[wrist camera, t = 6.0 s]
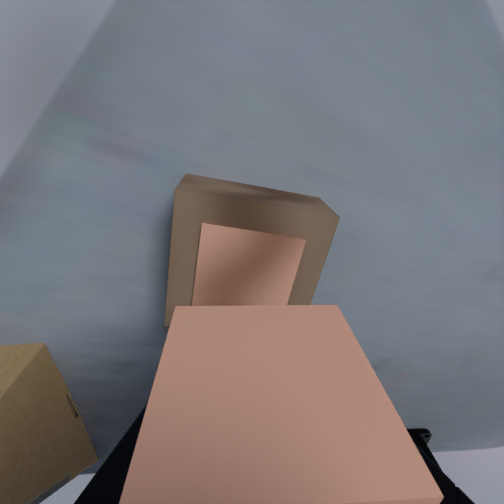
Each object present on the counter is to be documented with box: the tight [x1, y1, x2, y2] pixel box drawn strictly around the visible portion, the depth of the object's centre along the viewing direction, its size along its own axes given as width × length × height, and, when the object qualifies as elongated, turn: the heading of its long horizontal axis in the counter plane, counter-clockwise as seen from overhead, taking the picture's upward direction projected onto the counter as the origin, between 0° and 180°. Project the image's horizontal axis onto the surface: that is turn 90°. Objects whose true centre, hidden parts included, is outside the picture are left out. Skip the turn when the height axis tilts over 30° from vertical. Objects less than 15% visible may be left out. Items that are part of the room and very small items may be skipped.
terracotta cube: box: [119, 305, 444, 504], centre depth 8 cm, size 5×5×5 cm
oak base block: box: [164, 174, 340, 327], centre depth 17 cm, size 8×8×4 cm
